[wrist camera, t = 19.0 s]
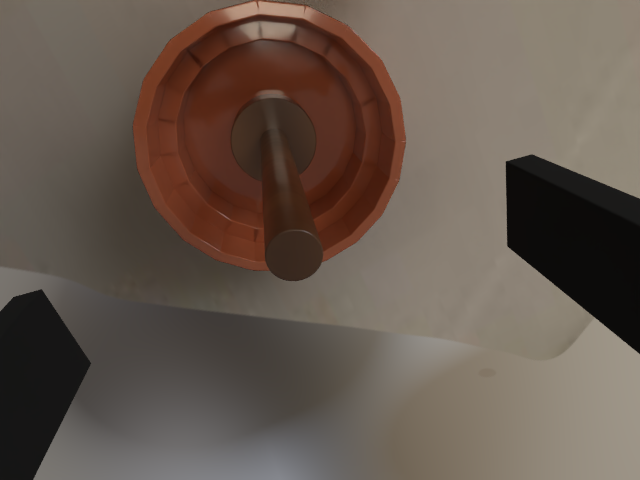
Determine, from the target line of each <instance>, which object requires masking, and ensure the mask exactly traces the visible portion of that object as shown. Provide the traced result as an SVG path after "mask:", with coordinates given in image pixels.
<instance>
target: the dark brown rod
mask: <svg viewBox="0 0 640 480" xmlns="http://www.w3.org/2000/svg"><path fill="white" fill-rule="evenodd" d="M231 149H232V153H233V155H234V158H235V160H236V162H237V163H238V165H239V166H240V167H241V169H242V170H243V171H244V172H245V173H247V174H248V175H249V176H251V177H252V178H254V179H256V180H259V181H262V199H263V223H264V248H265V261H266V264H267V267H268V268H269V270H270V271H271V272H272V273H273V274H274V275H275V276H277V277H279V278H281V279H283V280H287V281H299V280H303V279H305V278H308V277H309V276H311V275H312V274H314V273H315V272H316V271H317V269H318V268H319V267H320V265H321V263H322V259H323V248H322V245H321V242H320V238H319V235H318V232H317V229H316V226H315V223H314V220H313V217H312V214H311V211H310V207H309V204H308V201H307V198H306V195H305V192H304V189H303V186H302V183H301V180H300V177H299V175H300V174H301V173H303V172H304V171H305V170H306V168H307V167H308V166H309V164H310V163H311V161H312V159H313V157H314V154H315V150H316V133H315V129H314V126H313V124H312V121H311V120H310V118H309V116H308V115H307V114H306V112H305V111H304V110H303V108H302V107H301V106H300V105H299V104H298V103H297V102H295V101H294V100H292V99H290V98H289V97H286V96H283V95H279V94H264V95H260V96H257V97H255V98H253V99H251V100H249V101H248V102H247V103H246V104H244V105H243V106H242V108H241V109H240V110H239V112H238V113H237V115H236V118H235V120H234V123H233V127H232V131H231Z"/></svg>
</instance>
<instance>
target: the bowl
mask: <svg viewBox="0 0 640 480" xmlns="http://www.w3.org/2000/svg"><path fill="white" fill-rule="evenodd" d="M264 94H279V95H283V96H286V97H289V98H290V99H292V100H294V101H295V102H297V103H298V104H299V105H300V106H301V107H302V108H303V110H304V111H305V112H306V114H307V115H308V116H309V118H310V120H311V121H312V124H313V126H314V129H315V133H316V150H315V154H314V157H313V159H312V161H311V163H310V164H309V166H308V167H307V168H306V170H305V171H304V172H303V173H301V174H300V175H299V177H300V180H301V183H302V186H303V189H304V192H305V195H306V198H307V201H308V204H309V207H310V211H311V214H312V217H313V220H314V223H315V226H316V229H317V232H318V235H319V238H320V242H321V245H322V248H323V259H322V262H323V261H326V260H328V259H330V258H331V257H333V256H335V255H336V254H338V253H340V252H341V251H343V250H345V249H346V248H348V247H350V246H351V245H353V244H354V243H356V242H357V241H358V240H359V239H360V238H361V237H362V236H363V235H364V234H365V233H366V232H367V231H368V230H369V228H370V227H371V226H372V225H373V224H374V223H375V222H376V221H377V220H378V219H379V218H380V217H381V216H382V214H383V212H384V210H385V208H386V206H387V204H388V202H389V200H390V198H391V196H392V194H393V192H394V190H395V188H396V186H397V184H398V182H399V179H400V173H401V168H402V162H403V156H404V150H405V144H406V141H405V140H406V136H405V129H404V121H403V114H402V107H401V100H400V97H399V95H398V93H397V90H396V88H395V86H394V84H393V82H392V80H391V78H390V76H389V74H388V72H387V70H386V68H385V66H384V63H383V61H382V60H381V58H380V57H379V56H378V55H377V54H376V53H375V52H374V51H373V50H372V49H371V48H370V47H369V46H368V45H367V44H366V43H365V42H364V41H363V40H362V39H361V38H360V37H359V36H358V35H357V34H356V33H355V32H354V31H353V30H352V29H351V28H350V27H348V25H346V24H344V23H342V22H340V21H338V20H336V19H334V18H332V17H330V16H328V15H326V14H324V13H322V12H319V11H317V10H315V9H313V8H311V7H309V6H307V5H306V6H305V5H304V4H294V3H285V2H276V1H267V0H253V1H249V2H245V3H241V4H237V5H233V6H230V7H226V8H222V9H218V10H214V11H211V12H210V13H209V12H208V13H207V14H205V15H204V16H203V17H201V18H200V19H198V20H197V21H196V22H194V23H193V24H191V25H190V26H189V27H187V28H186V29H184V30H183V31H182V32H180V33H179V34H177V35H176V36H175V37H173V38H172V39H170V41H169V42H168V43H167V45H166V46H165V48H164V49H163V51H162V52H161V54H160V55H159V57H158V58H157V60H156V61H155V63H154V64H153V66H152V67H151V69H150V70H149V72H148V73H147V75H146V76H145V78H144V81H143V83H142V87H141V91H140V95H139V100H138V104H137V108H136V113H135V117H134V121H133V135H134V144H135V153H136V163H137V169H138V172H139V174H140V177H141V179H142V181H143V183H144V185H145V188H146V190H147V192H148V194H149V196H150V199H151V201H152V203H153V205H154V207H155V208H156V210H157V211H158V212H159V213H160V214H161V216H162V217H163V218H164V219H165V220H166V221H167V222H168V223H169V225H170V226H171V227H172V228H173V229H174V230H175V231H176V232H177V234H178V235H179V236H180V237H181V238H182V239H183V240H184V241H186V242H187V243H189V244H191V245H192V246H194V247H195V248H197V249H199V250H200V251H202V252H204V253H205V254H207V255H208V256H210V257H212V258H213V259H215V260H217V261H221V262H224V263H228V264H231V265H235V266H238V267H242V268H246V269H249V270H254V271H270V270H269V268H268V267H267V264H266V261H265V248H264V223H263V199H262V181H259V180H256V179H254V178H252V177H251V176H249V175H248V174H247V173H245V172H244V171H243V170H242V169H241V167H240V166H239V165H238V163H237V162H236V160H235V158H234V155H233V153H232V149H231V131H232V127H233V123H234V120H235V118H236V115H237V113H238V112H239V110H240V109H241V108H242V106H243V105H244V104H246V103H247V102H248V101H249V100H251V99H253V98H255V97H257V96H260V95H264Z"/></svg>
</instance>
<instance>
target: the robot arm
mask: <svg viewBox="0 0 640 480" xmlns="http://www.w3.org/2000/svg"><path fill="white" fill-rule="evenodd" d="M506 196H507V246H508V247H509V248H510V249H511V250H513V251H514V252H515V253H516V254H517V255H519V256H520V257H521V258H522V259H524V260H525V261H526V262H527V263H529V264H530V265H531V266H532V267H533V268H535V269H536V270H537V271H538V272H540V273H541V274H542V275H543V276H545V277H546V278H547V279H548V280H549V281H551V282H552V283H553V284H554V285H556V286H557V287H558V288H559V289H561V290H562V291H563V292H564V293H565V294H567V295H568V296H569V297H570V298H572V299H573V300H574V301H575V302H577V303H578V304H579V305H580V306H581V307H583V308H584V309H585V310H586V311H588V312H589V313H590V314H591V315H592V316H594V317H595V318H596V319H598V320H599V321H600V322H601V323H602V324H604V325H605V326H606V327H607V328H609V329H610V330H611V331H612V332H614V333H615V334H616V335H617V336H619V337H620V338H621V339H622V340H623V341H624V342H626V343H627V344H628V345H629V346H631V347H632V348H633V349H634V350H636V351H637V352H638V353H639V354H640V199H639V198H637V197H634V196H632V195H629V194H627V193H624V192H622V191H620V190H617V189H615V188H612V187H610V186H607V185H605V184H603V183H600V182H598V181H595V180H593V179H590V178H588V177H586V176H583V175H581V174H578V173H576V172H573V171H571V170H569V169H566V168H564V167H561V166H559V165H556V164H554V163H552V162H549V161H547V160H544V159H542V158H539V157H537V156H535V155H528V156H524V157H521V158H517V159H514V160H510V161H506ZM90 364H91V363H90V361H89V360H88V358H87V357H86V355H85V354H84V352H83V351H82V349H81V348H80V346H79V345H78V343H77V342H76V340H75V339H74V337H73V336H72V334H71V333H70V331H69V330H68V328H67V327H66V325H65V324H64V323H63V321H62V319H61V318H60V316H59V315H58V313H57V312H56V310H55V309H54V307H53V306H52V304H51V303H50V301H49V300H48V298H47V297H46V295H45V294H44V292H43V291H42V290H38V291H34V292H30V293H27V294H23V295H19V296H16V297H13V298H12V299H11V301H10V302H9V303H8V304H7V305H6V306H5V307H4V308H3V309H2V310H1V311H0V480H33V478H34V477H35V475H36V472H37V470H38V468H39V466H40V464H41V462H42V460H43V458H44V456H45V454H46V452H47V450H48V448H49V446H50V444H51V442H52V440H53V438H54V436H55V434H56V432H57V430H58V428H59V426H60V424H61V422H62V420H63V418H64V416H65V414H66V412H67V410H68V408H69V406H70V404H71V402H72V400H73V398H74V396H75V394H76V392H77V390H78V388H79V386H80V384H81V382H82V380H83V378H84V376H85V374H86V372H87V370H88V368H89V366H90Z"/></svg>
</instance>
